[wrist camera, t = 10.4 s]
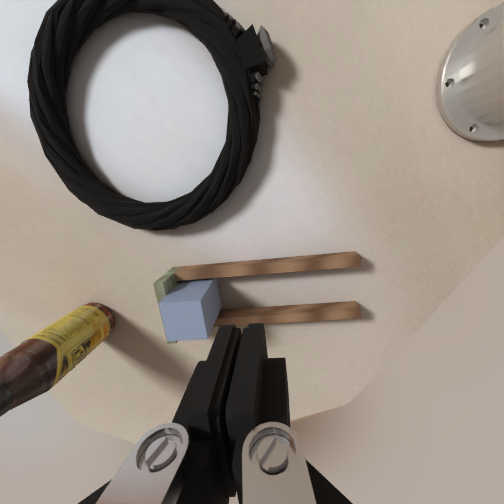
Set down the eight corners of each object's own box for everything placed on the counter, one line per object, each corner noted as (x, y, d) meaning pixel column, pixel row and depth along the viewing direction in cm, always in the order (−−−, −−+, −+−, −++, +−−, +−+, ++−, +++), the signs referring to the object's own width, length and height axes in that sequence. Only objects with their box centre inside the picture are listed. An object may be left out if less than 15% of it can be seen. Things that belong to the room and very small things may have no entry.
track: (354, 251, 34) (370, 266, 28) (355, 309, 36) (370, 333, 30) (172, 267, 37) (153, 283, 31) (183, 319, 39) (167, 343, 33)
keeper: (216, 275, 36) (200, 300, 29) (221, 306, 38) (207, 339, 30) (182, 277, 37) (158, 303, 29) (189, 308, 38) (167, 341, 31)
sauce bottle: (103, 342, 42) (-44, 480, 22) (72, 317, 41) (-107, 437, 22) (125, 317, 40) (-13, 444, 21) (94, 291, 39) (-81, 397, 20)
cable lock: (-31, 40, 28) (211, -135, 22) (5, 56, 32) (220, -91, 26) (99, 264, 34) (317, 170, 28) (116, 255, 38) (312, 171, 32)
